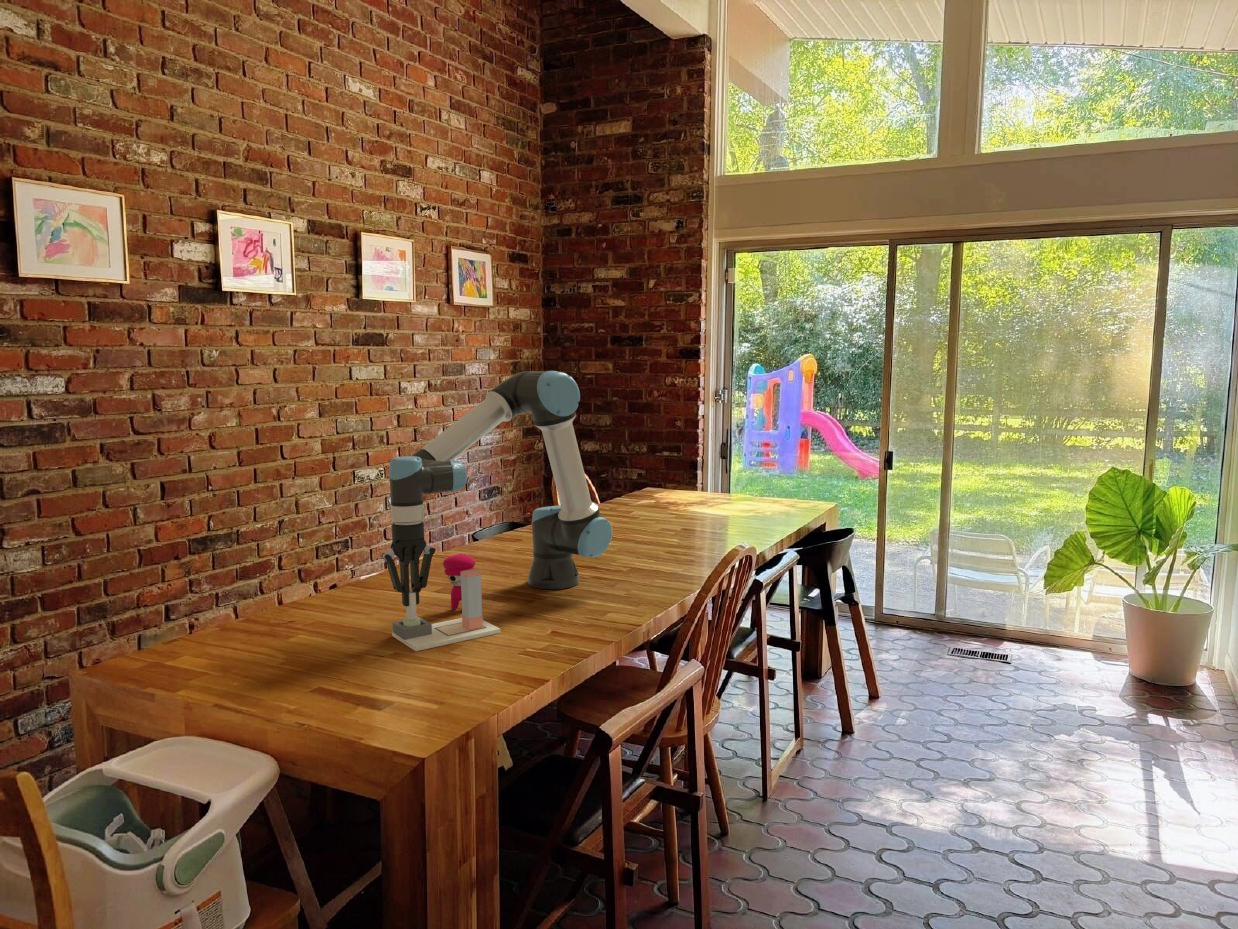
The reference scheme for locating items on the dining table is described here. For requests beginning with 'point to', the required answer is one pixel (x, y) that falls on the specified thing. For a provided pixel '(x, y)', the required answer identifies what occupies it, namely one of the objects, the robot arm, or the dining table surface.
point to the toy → (457, 574)
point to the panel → (438, 633)
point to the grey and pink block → (471, 599)
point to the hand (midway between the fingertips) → (411, 618)
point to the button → (411, 622)
